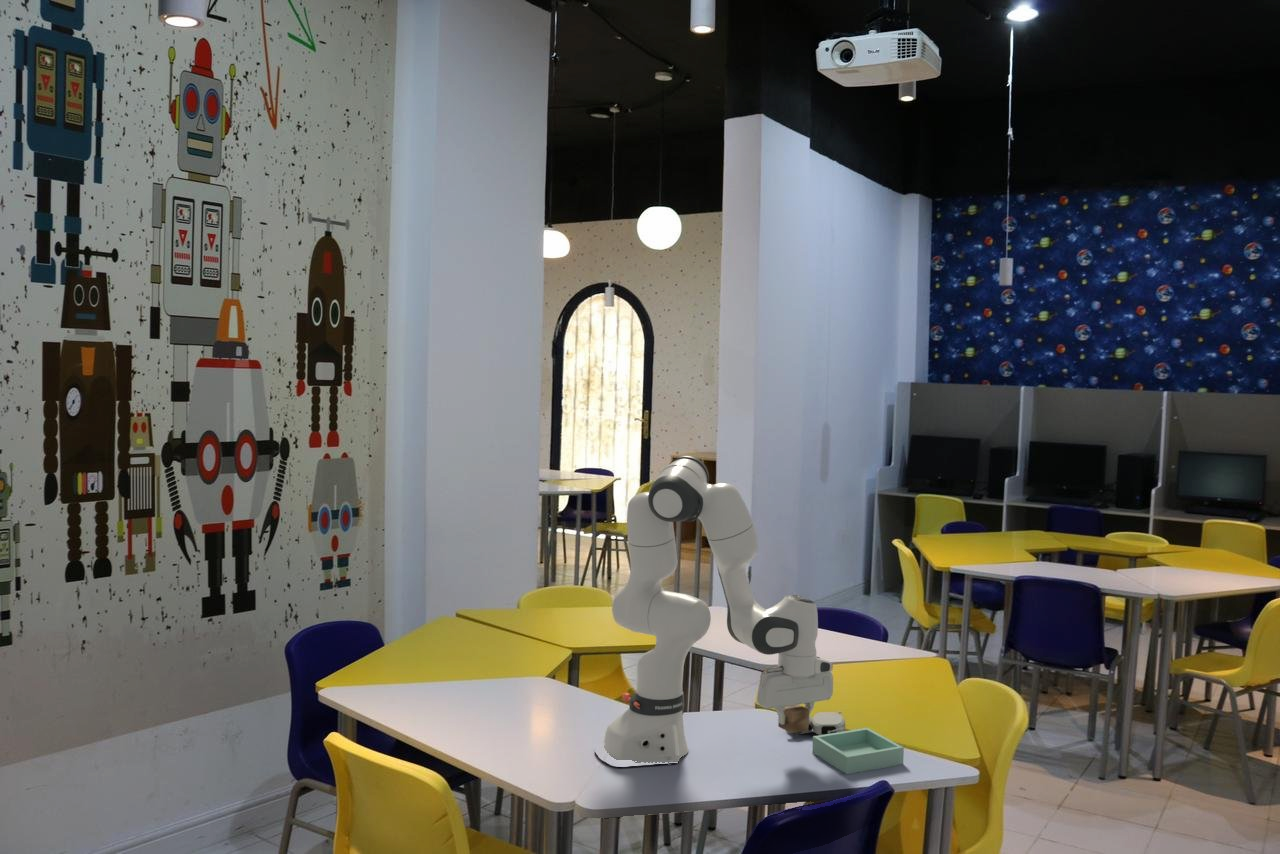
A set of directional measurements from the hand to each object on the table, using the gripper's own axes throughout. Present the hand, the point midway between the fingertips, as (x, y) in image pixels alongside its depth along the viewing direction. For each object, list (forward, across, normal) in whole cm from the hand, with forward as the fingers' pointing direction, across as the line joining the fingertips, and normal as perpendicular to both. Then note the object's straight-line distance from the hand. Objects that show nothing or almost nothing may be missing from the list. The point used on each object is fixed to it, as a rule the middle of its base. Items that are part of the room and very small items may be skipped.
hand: (793, 721), depth 240 cm
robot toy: (+9, +16, +11) cm, 22 cm away
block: (+2, 0, 0) cm, 2 cm away
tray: (+9, +14, -7) cm, 18 cm away
